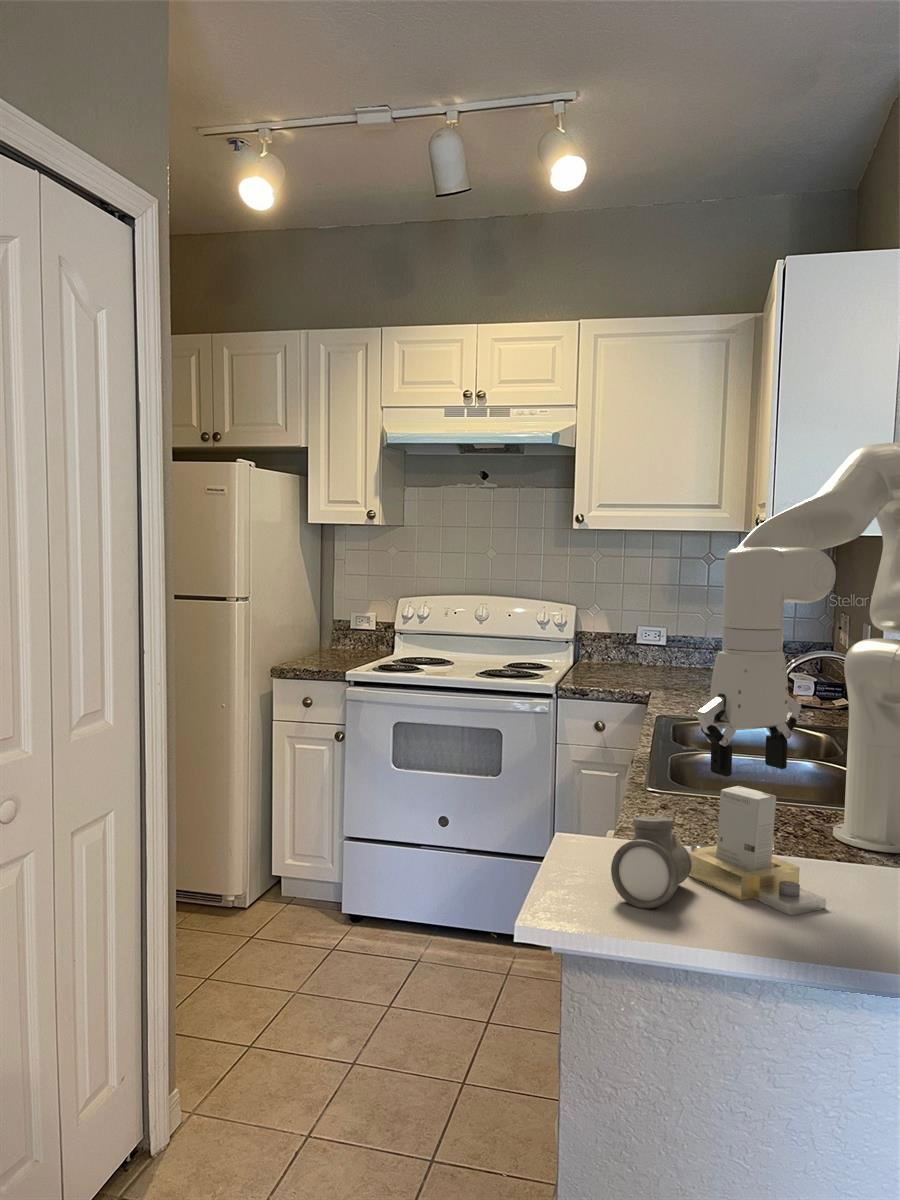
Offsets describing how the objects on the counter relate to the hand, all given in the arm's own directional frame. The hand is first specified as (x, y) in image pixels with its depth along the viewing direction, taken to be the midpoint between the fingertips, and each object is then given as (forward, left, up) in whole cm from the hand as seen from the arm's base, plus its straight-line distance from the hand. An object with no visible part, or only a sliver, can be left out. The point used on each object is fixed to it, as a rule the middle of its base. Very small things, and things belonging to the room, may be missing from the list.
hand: (748, 770), depth 117 cm
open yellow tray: (+1, 0, -15) cm, 15 cm away
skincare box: (0, 0, -15) cm, 15 cm away
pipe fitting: (+14, -1, -15) cm, 21 cm away
